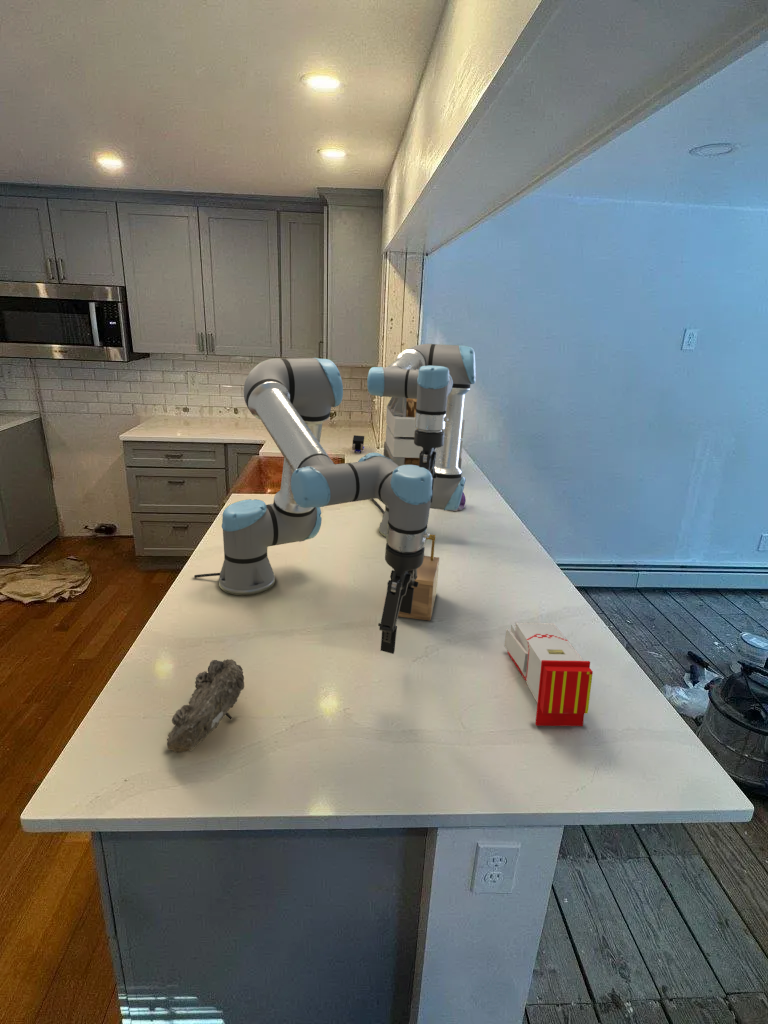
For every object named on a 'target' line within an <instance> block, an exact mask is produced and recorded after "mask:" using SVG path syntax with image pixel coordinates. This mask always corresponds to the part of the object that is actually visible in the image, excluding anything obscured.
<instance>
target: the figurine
mask: <svg viewBox="0 0 768 1024" xmlns="http://www.w3.org/2000/svg"><path fill="white" fill-rule="evenodd" d="M466 503H467V502H466V496H465V492H463V493H462V497H461V501H460V505H459V507H458V509H457V510H450V511H451V512H452V511H453V512H457V511H462V510H463V509H465V505H466Z"/></svg>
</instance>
